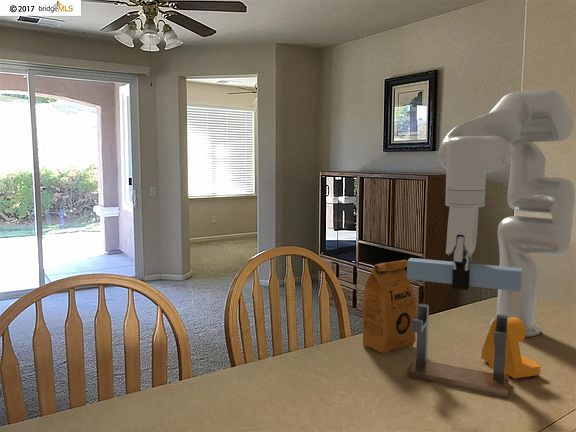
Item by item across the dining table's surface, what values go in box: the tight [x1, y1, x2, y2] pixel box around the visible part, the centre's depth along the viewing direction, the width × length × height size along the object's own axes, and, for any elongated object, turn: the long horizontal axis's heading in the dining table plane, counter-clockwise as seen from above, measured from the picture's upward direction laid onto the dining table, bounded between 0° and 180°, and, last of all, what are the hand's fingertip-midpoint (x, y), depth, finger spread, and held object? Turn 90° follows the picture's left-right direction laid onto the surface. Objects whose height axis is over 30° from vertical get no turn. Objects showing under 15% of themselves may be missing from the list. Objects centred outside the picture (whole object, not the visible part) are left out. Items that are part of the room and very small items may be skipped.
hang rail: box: [406, 257, 522, 291], centre depth 99 cm, size 3×22×4 cm, turn 63°
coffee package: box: [362, 259, 417, 354], centre depth 120 cm, size 10×12×22 cm
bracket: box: [480, 317, 542, 379], centre depth 108 cm, size 11×7×12 cm, turn 16°
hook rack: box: [406, 303, 510, 399], centre depth 102 cm, size 8×20×15 cm, turn 63°
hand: (461, 285), depth 99 cm, fingers closed on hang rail, 3 cm apart
